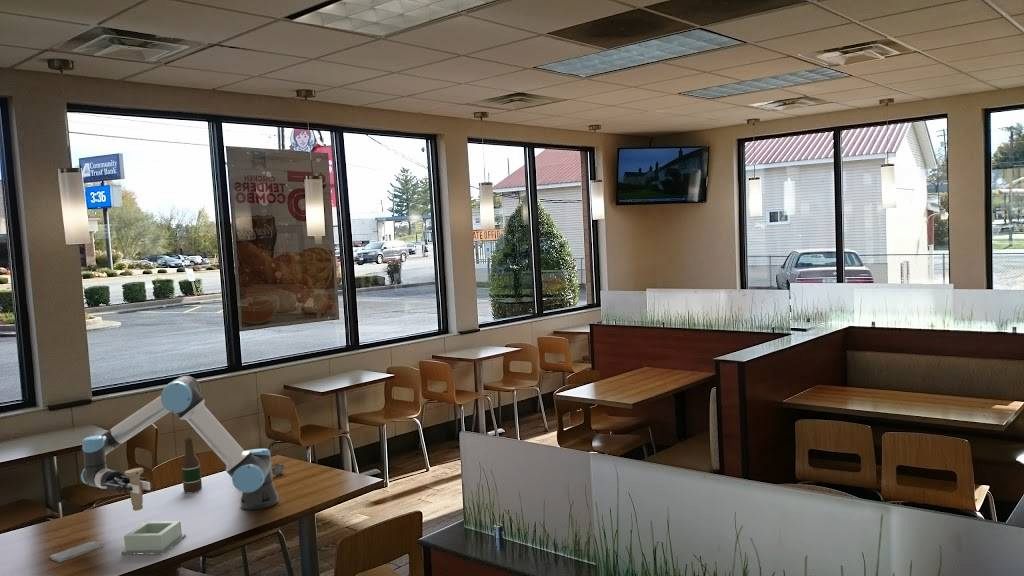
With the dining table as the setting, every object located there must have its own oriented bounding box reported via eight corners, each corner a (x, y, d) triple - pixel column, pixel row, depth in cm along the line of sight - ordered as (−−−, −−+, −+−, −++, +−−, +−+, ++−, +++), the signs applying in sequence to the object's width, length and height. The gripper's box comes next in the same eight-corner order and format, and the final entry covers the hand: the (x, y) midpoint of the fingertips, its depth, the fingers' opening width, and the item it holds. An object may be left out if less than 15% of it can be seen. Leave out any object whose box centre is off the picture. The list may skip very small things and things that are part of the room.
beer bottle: (195, 493, 357) (191, 440, 355) (180, 493, 358) (175, 440, 356) (205, 487, 364) (201, 435, 362) (190, 487, 366) (185, 435, 364)
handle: (126, 511, 299) (122, 471, 298) (143, 505, 304) (139, 467, 303) (132, 513, 296) (128, 473, 295) (149, 508, 301) (145, 468, 299)
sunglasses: (257, 483, 367) (255, 472, 367) (239, 481, 379) (237, 470, 379) (288, 473, 379) (287, 463, 379) (270, 471, 391) (268, 461, 391)
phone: (104, 548, 299) (103, 544, 299) (59, 563, 286) (58, 560, 286) (93, 543, 304) (92, 540, 304) (48, 559, 291) (48, 555, 291)
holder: (186, 536, 304) (184, 519, 303) (163, 553, 288) (161, 536, 288) (146, 537, 306) (144, 520, 305) (121, 554, 290) (119, 537, 289)
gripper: (131, 482, 316) (165, 491, 303) (89, 496, 303) (123, 505, 289) (129, 464, 316) (163, 471, 302) (87, 476, 302) (120, 484, 289)
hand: (143, 487), depth 296 cm, fingers closed on handle, 4 cm apart
